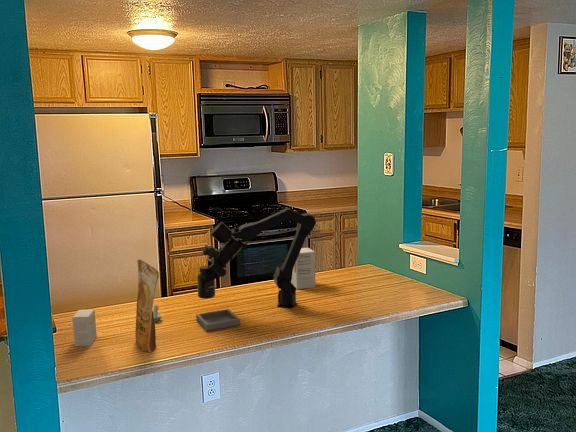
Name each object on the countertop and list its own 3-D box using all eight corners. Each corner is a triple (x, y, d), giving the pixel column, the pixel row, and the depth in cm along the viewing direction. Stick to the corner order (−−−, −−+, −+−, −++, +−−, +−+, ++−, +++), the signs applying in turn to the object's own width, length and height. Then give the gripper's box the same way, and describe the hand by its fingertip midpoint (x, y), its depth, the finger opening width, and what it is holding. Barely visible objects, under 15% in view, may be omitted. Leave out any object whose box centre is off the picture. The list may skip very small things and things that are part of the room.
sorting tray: (228, 315, 214) (228, 308, 214) (240, 325, 203) (240, 318, 202) (196, 320, 209) (196, 314, 208) (206, 331, 197) (206, 324, 197)
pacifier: (148, 325, 206) (163, 321, 209) (146, 309, 205) (162, 306, 207) (143, 319, 212) (158, 316, 215) (142, 303, 211) (157, 300, 214)
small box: (81, 337, 194) (78, 309, 192) (97, 337, 194) (94, 308, 192) (74, 346, 186) (71, 317, 184) (91, 345, 186) (88, 316, 185)
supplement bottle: (212, 299, 213) (210, 269, 211) (195, 298, 214) (194, 269, 212) (217, 294, 219) (216, 265, 217) (201, 293, 221) (200, 264, 219)
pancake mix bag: (151, 333, 197) (146, 257, 192) (164, 351, 180) (159, 269, 176) (132, 336, 194) (127, 259, 190) (143, 355, 177) (138, 271, 173)
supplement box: (290, 284, 255) (289, 248, 252) (309, 282, 258) (308, 247, 255) (296, 289, 246) (296, 253, 243) (316, 287, 249) (315, 251, 246)
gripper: (212, 233, 223) (186, 262, 222) (215, 242, 205) (187, 273, 204) (232, 251, 225) (206, 279, 225) (237, 261, 207) (210, 292, 207)
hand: (202, 280), depth 215 cm, fingers closed on supplement bottle, 6 cm apart
